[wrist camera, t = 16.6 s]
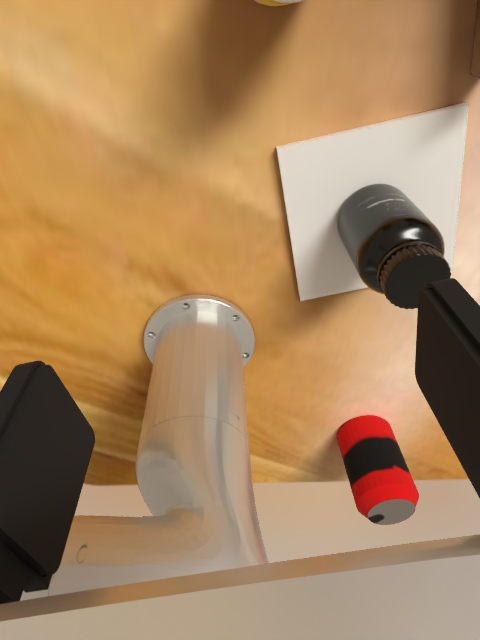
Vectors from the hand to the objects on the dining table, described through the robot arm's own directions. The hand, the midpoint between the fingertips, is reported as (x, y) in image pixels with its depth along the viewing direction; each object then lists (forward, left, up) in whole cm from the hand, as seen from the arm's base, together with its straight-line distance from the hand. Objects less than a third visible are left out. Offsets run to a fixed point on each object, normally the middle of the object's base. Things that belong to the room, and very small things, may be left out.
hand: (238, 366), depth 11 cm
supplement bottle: (-11, -12, -30) cm, 34 cm away
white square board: (-11, -12, -30) cm, 34 cm away
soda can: (-44, -10, -31) cm, 54 cm away
